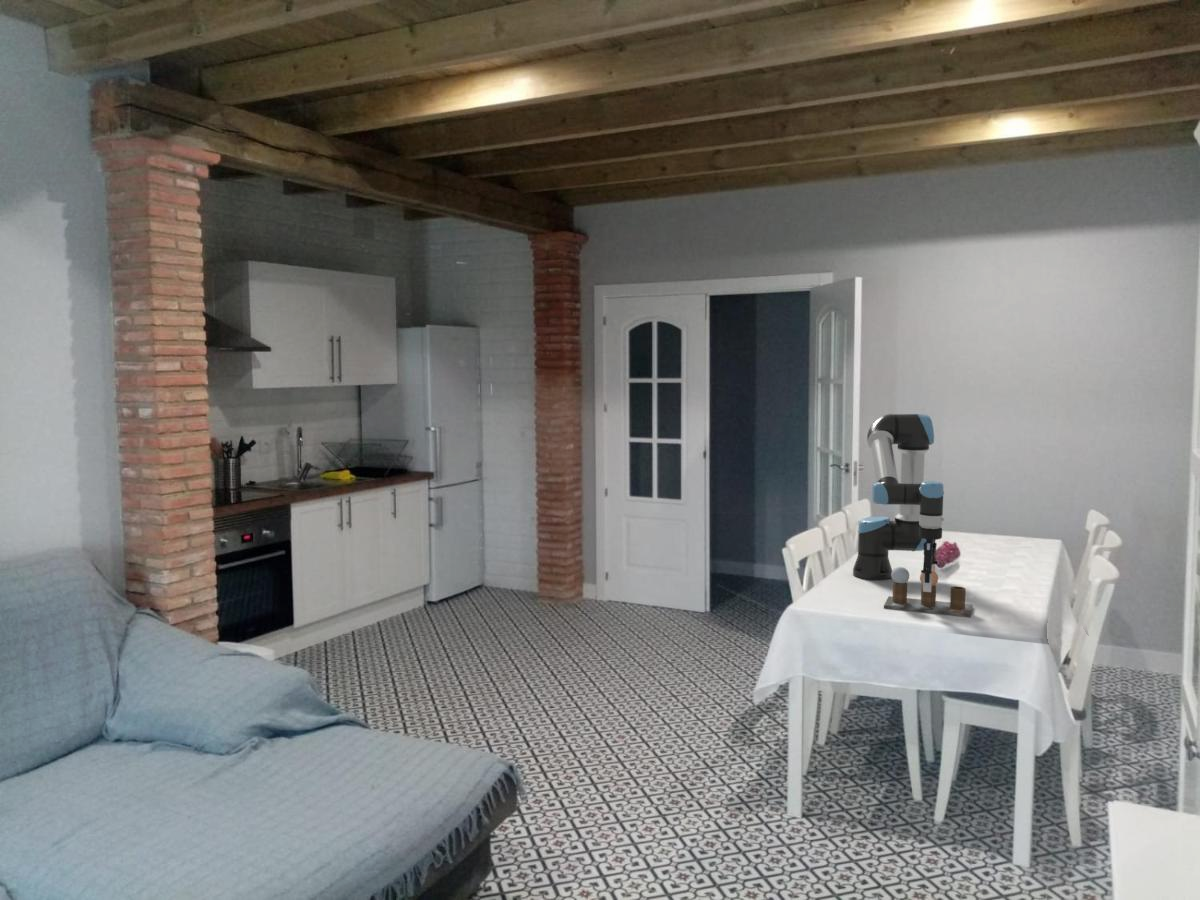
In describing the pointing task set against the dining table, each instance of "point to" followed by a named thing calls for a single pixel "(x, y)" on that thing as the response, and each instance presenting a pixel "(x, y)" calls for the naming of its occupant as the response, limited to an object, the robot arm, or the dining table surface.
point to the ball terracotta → (934, 578)
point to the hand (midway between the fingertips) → (928, 587)
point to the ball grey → (900, 575)
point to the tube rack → (929, 601)
